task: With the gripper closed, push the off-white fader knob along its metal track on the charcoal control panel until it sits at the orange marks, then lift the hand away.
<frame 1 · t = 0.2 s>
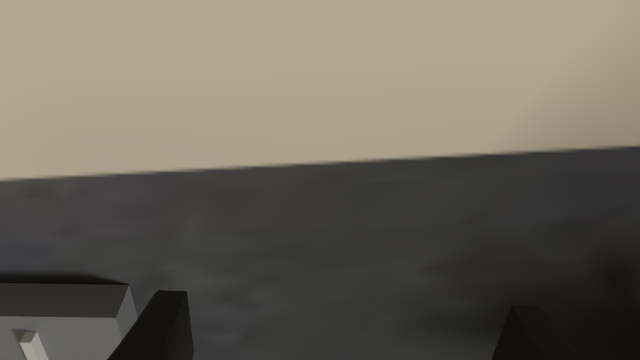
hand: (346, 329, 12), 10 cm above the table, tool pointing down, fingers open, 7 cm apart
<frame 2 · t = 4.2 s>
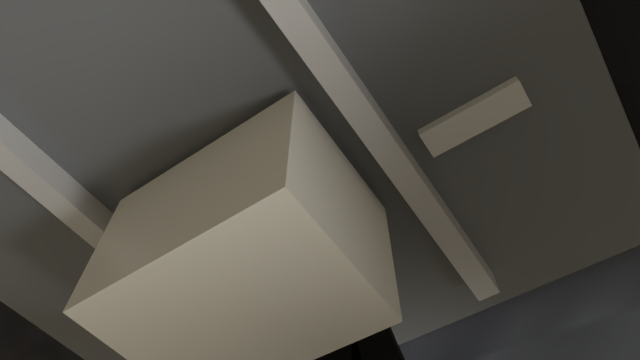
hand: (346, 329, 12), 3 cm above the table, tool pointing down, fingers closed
fader: (244, 253, 10), point 4 cm above the table, slide at 0.8 cm, touching gripper
control panel: (169, 39, 11), on the table
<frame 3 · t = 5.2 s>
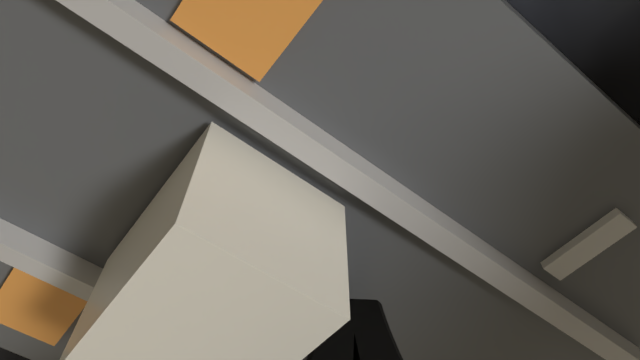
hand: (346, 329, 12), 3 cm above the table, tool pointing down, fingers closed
fader: (209, 284, 10), point 4 cm above the table, slide at 6.5 cm, touching gripper
control panel: (315, 224, 14), on the table
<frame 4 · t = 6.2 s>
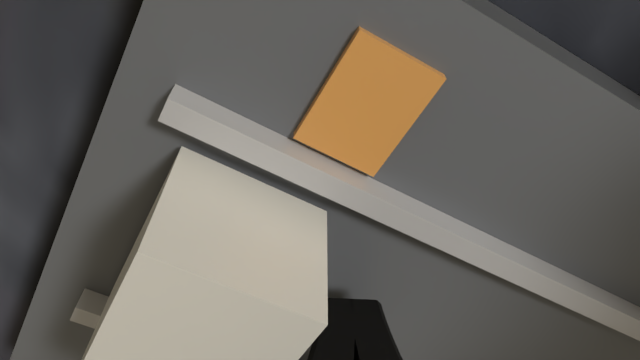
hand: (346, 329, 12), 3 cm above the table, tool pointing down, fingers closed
fader: (201, 303, 11), point 4 cm above the table, slide at 9.8 cm, touching gripper
control panel: (418, 275, 15), on the table
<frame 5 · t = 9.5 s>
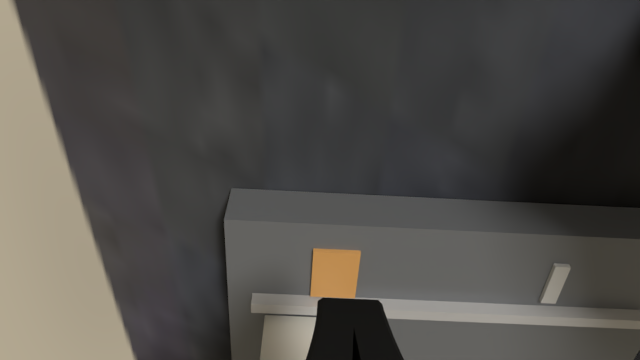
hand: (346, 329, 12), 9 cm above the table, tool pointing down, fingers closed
control panel: (426, 317, 26), on the table
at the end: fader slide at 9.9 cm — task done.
